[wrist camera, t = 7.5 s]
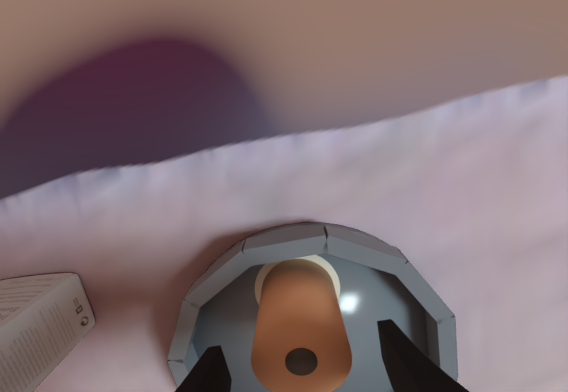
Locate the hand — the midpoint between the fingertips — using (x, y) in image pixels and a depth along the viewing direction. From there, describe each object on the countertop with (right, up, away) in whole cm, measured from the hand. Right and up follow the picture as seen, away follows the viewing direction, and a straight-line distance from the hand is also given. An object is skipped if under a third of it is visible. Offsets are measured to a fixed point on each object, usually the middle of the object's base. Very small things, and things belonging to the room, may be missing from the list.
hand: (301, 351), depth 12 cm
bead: (0, +1, +4) cm, 4 cm away
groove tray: (+1, -3, +7) cm, 7 cm away
